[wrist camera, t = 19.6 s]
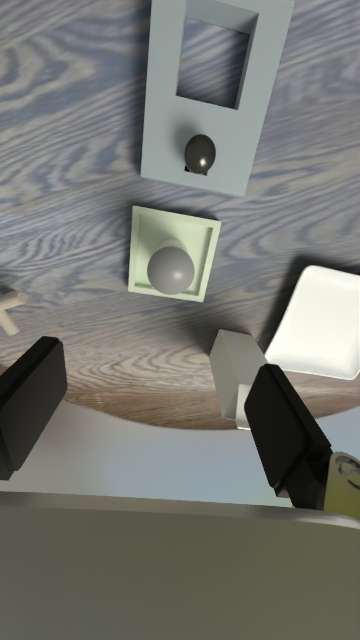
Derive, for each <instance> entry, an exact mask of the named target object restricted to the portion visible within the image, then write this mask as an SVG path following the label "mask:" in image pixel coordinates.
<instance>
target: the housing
mask: <svg viewBox="0 0 360 640" xmlns="http://www.w3.org/2000/svg"><path fill="white" fill-rule="evenodd" d="M295 1H296V0H152V8H151V23H150V39H149V54H148V69H147V85H146V100H145V116H144V131H143V146H142V162H141V177H142V178H143V179H144V180H149V181H154V182H159V183H164V184H170V185H175V186H180V187H185V188H190V189H195V190H200V191H205V192H211V193H216V194H221V195H226V196H231V197H236V198H240V197H244V195H245V191H246V187H247V183H248V179H249V176H250V172H251V168H252V164H253V160H254V157H255V153H256V149H257V145H258V141H259V138H260V134H261V130H262V126H263V122H264V119H265V115H266V111H267V107H268V103H269V100H270V96H271V92H272V88H273V84H274V81H275V77H276V73H277V69H278V65H279V62H280V58H281V54H282V50H283V46H284V43H285V39H286V35H287V31H288V27H289V24H290V20H291V16H292V12H293V8H294V5H295ZM186 17H187V18H191V19H194V20H198V21H202V22H205V23H209V24H213V25H217V26H220V27H224V28H228V29H231V30H235V31H239V32H242V33H246V34H250V37H249V42H248V46H247V51H246V56H245V61H244V65H243V70H242V75H241V80H240V84H239V89H238V94H237V99H236V103H235V108H234V109H230V108H226V107H222V106H217V105H213V104H209V103H205V102H200V101H196V100H192V99H188V98H183V97H179V96H177V88H178V80H179V71H180V62H181V53H182V45H183V36H184V27H185V18H186ZM198 134H204V135H207V136H208V137H210V138H211V140H212V141H213V143H214V145H215V149H216V157H215V161H214V163H213V165H212V167H211V168H210V169H209V170H208V171H207V172H206V173H205V175H200V174H194V173H191V172H186V171H184V169H185V160H184V153H185V148H186V145H187V143H188V141H189V140H190V139H191V138H192V137H193V136H195V135H198Z"/></svg>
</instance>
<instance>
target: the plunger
mask: <svg viewBox="0 0 360 640" xmlns="http://www.w3.org/2000/svg"><path fill="white" fill-rule="evenodd" d="M215 157H216V149H215V145H214V143H213V141H212V140H211V138H210V137H208V136H207V135H204V134H198V135H195V136H193V137H192V138H191V139H190V140H189V141H188V143H187V145H186V148H185V153H184V160H185V164H186V166H187V168H188V169H189V170H190V171H191V172H192V173H194V174H204V173H206V172H207V171H208V170H209V169H210V168H211V167H212V165H213V163H214V161H215Z"/></svg>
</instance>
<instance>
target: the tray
mask: <svg viewBox="0 0 360 640" xmlns="http://www.w3.org/2000/svg"><path fill="white" fill-rule="evenodd" d="M220 226H221V221H216V220H210V219H205V218H199V217H194V216H188V215H183V214H178V213H172V212H167V211H161V210H156V209H150V208H145V207H139V206H133V211H132V230H131V248H130V267H129V286H128V291H129V292H136V293H143V294H150V295H157V296H164V297H171V298H177V299H184V300H191V301H198V302H203V300H204V295H205V291H206V287H207V282H208V278H209V274H210V269H211V265H212V261H213V256H214V252H215V248H216V243H217V239H218V235H219V230H220ZM167 239H176V240H178V241H180V242H182V243H183V244H184V245H185V247H186V249H187V251H188V254H189V256H190V257H191V259H192V261H193V264H194V268H195V275H194V279H193V282H192V284H191V285H190V286H189V287H188V288H187V289H186V290H185V291H184V292H182V293H179V294H176V295H167V294H163V293H161V292H159V291H157V290H156V289H155V288H154V287H153V286H152V285H151V283H150V282H149V279H148V276H147V266H148V263H149V260H150V258H151V257H152V255H153V254H154V253H155V251H156V249H157V247H158V246H159V244H160V243H161V242H163V241H165V240H167Z"/></svg>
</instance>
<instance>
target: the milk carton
mask: <svg viewBox="0 0 360 640" xmlns="http://www.w3.org/2000/svg"><path fill="white" fill-rule="evenodd" d="M209 360H210V364H211V369H212V373H213V378H214V382H215V387H216V391H217V396H218V400H219V405H220V409H221V413H222V418H225V419H230V420H235V421H236V425H237V428H240V429H246V430H250V427H249V424H248V421H247V418H246V415H245V412H244V403H245V401H246V398H247V396H248V394H249V391H250V389H251V387H252V384H253V382H254V380H255V378H256V375H257V373H258V371H259V368H260V367H261V366H263V365H264V364H265V363H268V364H269V362H268V361H267V359H266V357H265V356H264V354H263V352H262V351H261V349H260V347H259V346H258V344H257V343H256V341H255V339H254V338H253V336H251V335H247V334H242V333H237V332H232V331H227V330H223V329H219V331H218V334H217V337H216V339H215V342H214V345H213V347H212V350H211V353H210V355H209Z"/></svg>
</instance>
